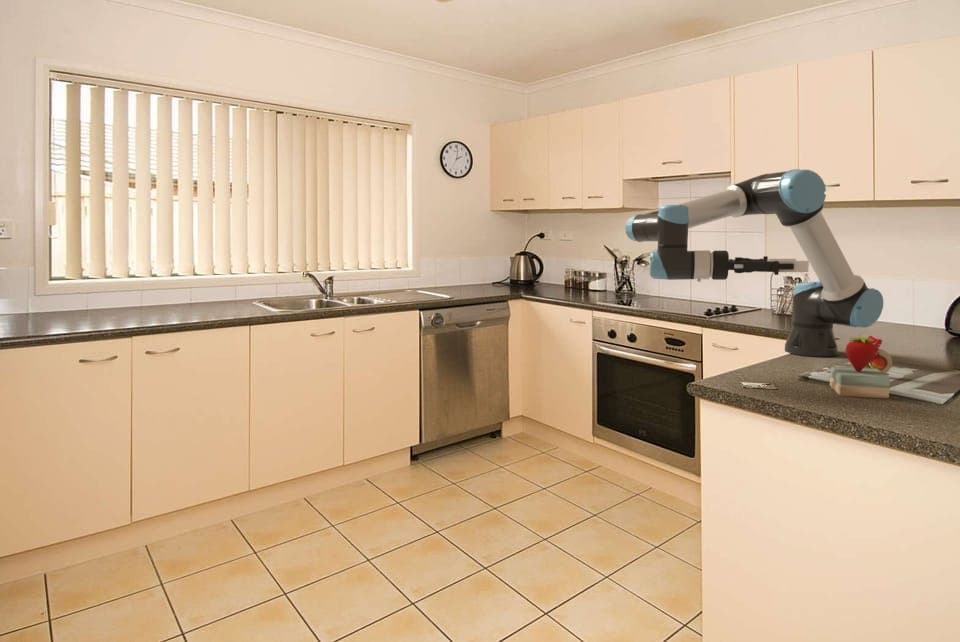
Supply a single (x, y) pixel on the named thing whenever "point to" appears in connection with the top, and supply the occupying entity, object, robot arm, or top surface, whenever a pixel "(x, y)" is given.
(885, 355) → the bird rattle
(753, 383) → the page
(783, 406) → the top surface
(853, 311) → the robot arm
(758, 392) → the top surface
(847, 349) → the strawberry
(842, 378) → the base brick
